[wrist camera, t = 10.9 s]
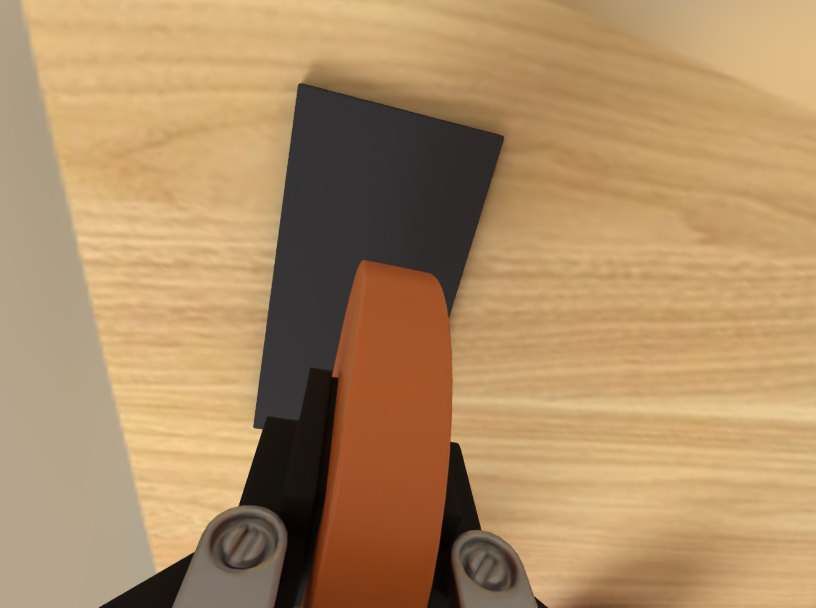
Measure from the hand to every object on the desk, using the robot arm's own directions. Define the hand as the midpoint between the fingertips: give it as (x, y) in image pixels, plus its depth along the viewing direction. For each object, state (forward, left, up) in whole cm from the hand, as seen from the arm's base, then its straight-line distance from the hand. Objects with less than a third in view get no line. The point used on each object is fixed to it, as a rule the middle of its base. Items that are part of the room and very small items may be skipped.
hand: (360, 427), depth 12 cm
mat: (0, 0, -8) cm, 8 cm away
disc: (0, 0, -4) cm, 4 cm away
